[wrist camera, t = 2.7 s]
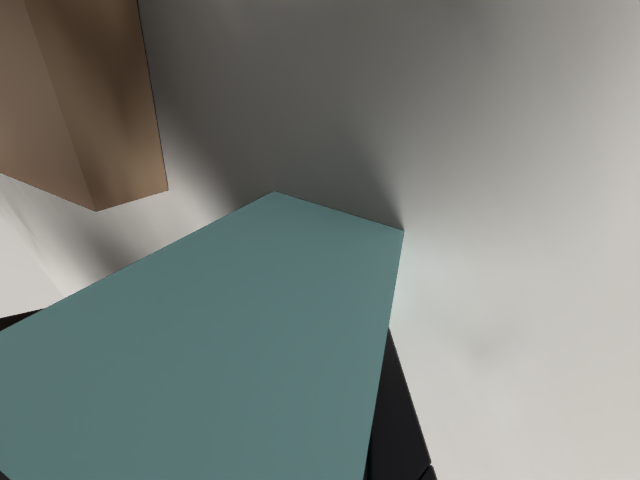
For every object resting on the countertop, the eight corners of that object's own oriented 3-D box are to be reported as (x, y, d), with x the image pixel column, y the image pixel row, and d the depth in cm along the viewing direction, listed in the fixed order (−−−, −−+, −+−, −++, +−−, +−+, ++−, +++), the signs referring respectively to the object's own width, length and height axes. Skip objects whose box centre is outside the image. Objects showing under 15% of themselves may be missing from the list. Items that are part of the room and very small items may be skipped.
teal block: (365, 328, 11) (271, 680, 4) (267, 288, 12) (67, 509, 5) (404, 230, 8) (316, 746, 2) (273, 191, 9) (-100, 382, 3)
